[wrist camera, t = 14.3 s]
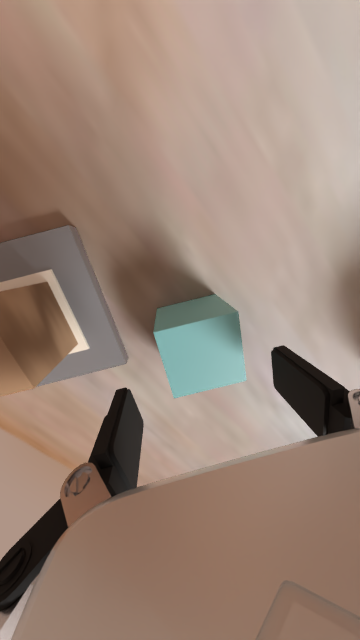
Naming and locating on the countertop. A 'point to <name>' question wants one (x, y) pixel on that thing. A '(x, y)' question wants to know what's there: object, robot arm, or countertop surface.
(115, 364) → the grey square plate
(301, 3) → the countertop surface
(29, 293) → the walnut block
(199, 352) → the teal block
